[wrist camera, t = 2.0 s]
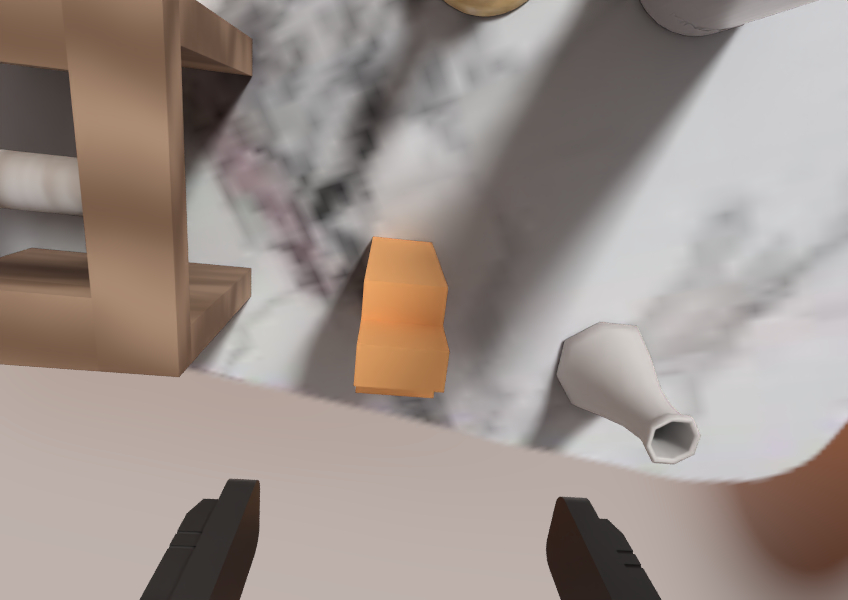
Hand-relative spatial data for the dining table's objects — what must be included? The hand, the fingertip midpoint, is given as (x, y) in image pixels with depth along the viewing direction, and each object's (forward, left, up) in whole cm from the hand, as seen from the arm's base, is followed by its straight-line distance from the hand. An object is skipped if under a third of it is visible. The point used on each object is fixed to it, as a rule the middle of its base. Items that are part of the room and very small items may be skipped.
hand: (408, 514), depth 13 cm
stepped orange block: (0, 0, -22) cm, 22 cm away
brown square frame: (-6, -17, -22) cm, 29 cm away
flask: (+5, +16, -23) cm, 28 cm away
